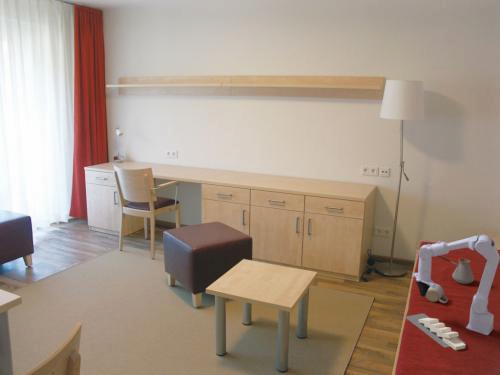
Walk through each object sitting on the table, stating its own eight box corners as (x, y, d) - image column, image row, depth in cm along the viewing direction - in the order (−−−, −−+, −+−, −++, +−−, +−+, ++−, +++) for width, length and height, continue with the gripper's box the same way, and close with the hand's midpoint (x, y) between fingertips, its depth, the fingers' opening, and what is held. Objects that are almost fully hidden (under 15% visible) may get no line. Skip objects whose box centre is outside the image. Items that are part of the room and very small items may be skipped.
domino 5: (442, 337, 190) (455, 346, 183) (452, 335, 192) (465, 344, 184) (442, 340, 191) (455, 350, 183) (451, 338, 192) (465, 348, 184)
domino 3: (429, 327, 198) (441, 329, 191) (438, 326, 200) (450, 327, 192) (430, 331, 198) (442, 333, 190) (439, 329, 199) (451, 331, 192)
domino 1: (418, 319, 206) (429, 320, 198) (427, 317, 207) (438, 319, 200) (419, 322, 206) (429, 324, 198) (427, 321, 207) (439, 322, 199)
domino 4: (436, 332, 194) (448, 334, 187) (445, 330, 196) (457, 332, 188) (437, 336, 194) (449, 338, 186) (446, 334, 195) (458, 336, 188)
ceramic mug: (424, 300, 228) (425, 287, 226) (428, 294, 235) (429, 281, 233) (445, 306, 222) (447, 292, 221) (449, 300, 229) (450, 286, 227)
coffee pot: (472, 278, 254) (474, 254, 251) (475, 286, 243) (477, 261, 240) (432, 274, 260) (434, 251, 257) (434, 282, 250) (436, 258, 247)
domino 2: (423, 323, 202) (435, 325, 195) (433, 321, 203) (444, 323, 196) (424, 327, 202) (435, 328, 194) (433, 325, 203) (445, 326, 196)
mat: (404, 317, 212) (404, 316, 212) (423, 313, 215) (423, 313, 214) (444, 348, 185) (444, 347, 185) (465, 343, 188) (465, 343, 188)
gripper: (408, 265, 214) (406, 290, 217) (427, 276, 200) (425, 303, 203) (420, 263, 216) (418, 288, 219) (440, 274, 202) (438, 301, 205)
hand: (422, 295), depth 211 cm, fingers closed
